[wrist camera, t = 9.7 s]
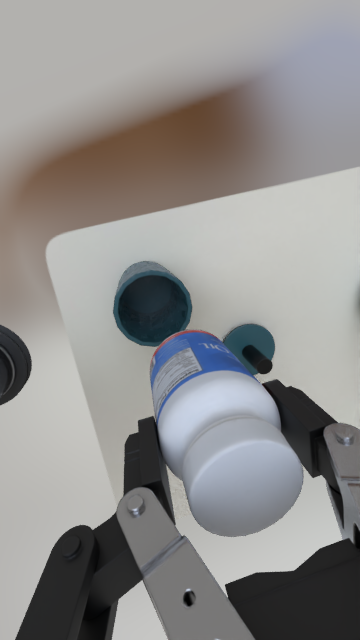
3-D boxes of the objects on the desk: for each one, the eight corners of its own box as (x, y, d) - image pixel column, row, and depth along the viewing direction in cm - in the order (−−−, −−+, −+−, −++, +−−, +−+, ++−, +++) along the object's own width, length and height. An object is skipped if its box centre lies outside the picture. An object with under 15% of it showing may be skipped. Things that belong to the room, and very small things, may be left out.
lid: (224, 379, 42) (239, 402, 36) (215, 330, 39) (229, 346, 33) (273, 364, 43) (296, 384, 37) (267, 316, 40) (291, 329, 34)
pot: (127, 320, 36) (126, 354, 26) (112, 268, 34) (103, 281, 23) (178, 307, 37) (198, 335, 26) (166, 255, 35) (182, 262, 24)
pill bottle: (242, 361, 19) (353, 478, 9) (188, 414, 19) (243, 575, 10) (189, 309, 17) (262, 391, 8) (130, 368, 17) (132, 513, 8)
